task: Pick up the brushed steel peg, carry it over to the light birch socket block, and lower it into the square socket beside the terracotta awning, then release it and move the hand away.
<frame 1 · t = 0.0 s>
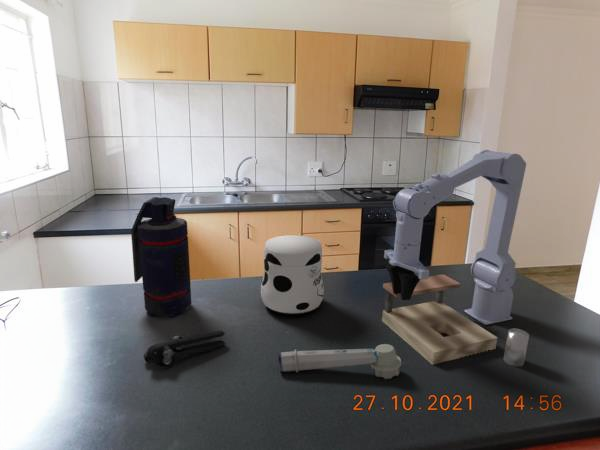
hand: (401, 296, 97), 10 cm above the countertop, tool pointing down, fingers open, 3 cm apart
toothbrush head: (338, 372, 86), on the countertop
can opener: (188, 357, 90), on the countertop
steel peg: (513, 361, 90), on the countertop
milk container: (292, 305, 114), on the countertop
grenade: (165, 309, 110), on the countertop
socket block: (435, 334, 101), on the countertop
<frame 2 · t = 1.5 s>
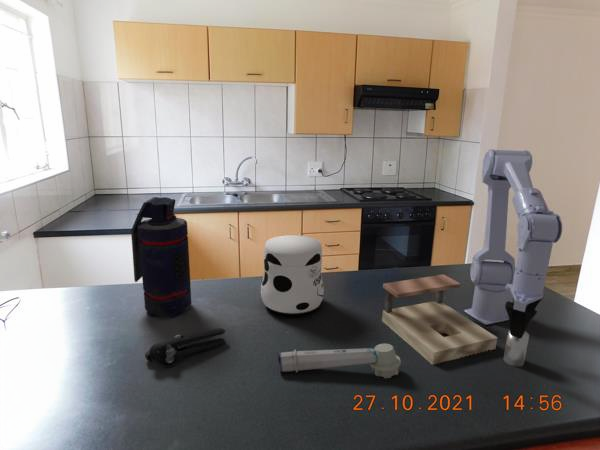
hand: (519, 329, 88), 8 cm above the countertop, tool pointing down, fingers open, 7 cm apart
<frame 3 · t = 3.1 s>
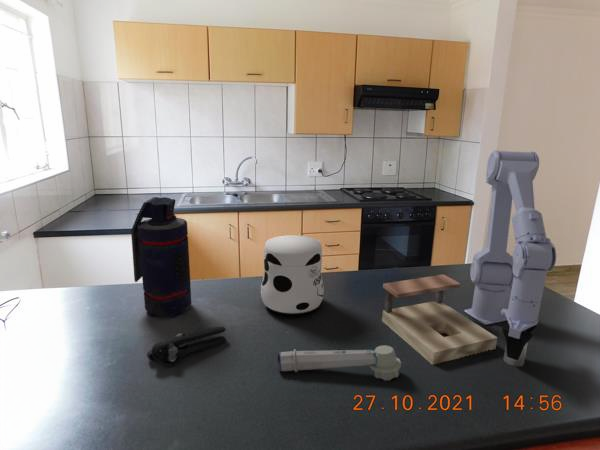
hand: (514, 353, 90), 2 cm above the countertop, tool pointing down, fingers closed on steel peg, 4 cm apart
steel peg: (513, 361, 90), on the countertop, touching gripper
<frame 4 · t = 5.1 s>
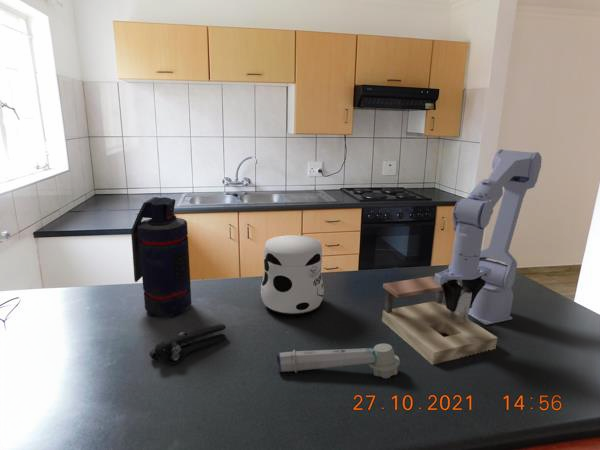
hand: (458, 308, 94), 9 cm above the countertop, tool pointing down, fingers closed on steel peg, 4 cm apart
steel peg: (458, 317, 95), point 7 cm above the countertop, touching gripper
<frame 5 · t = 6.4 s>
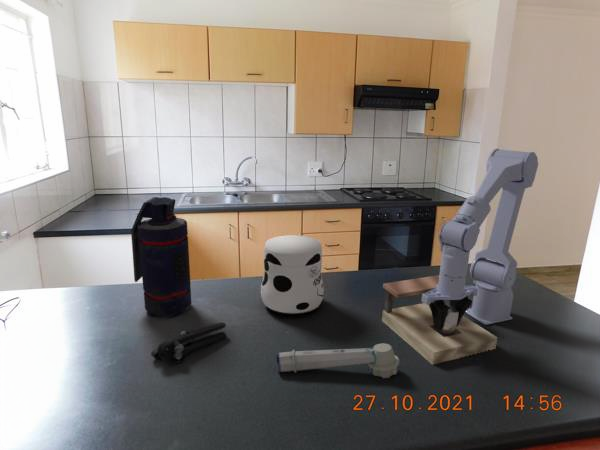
hand: (445, 326, 97), 4 cm above the countertop, tool pointing down, fingers closed on steel peg, 4 cm apart
steel peg: (445, 335, 97), point 1 cm above the countertop, touching gripper
when the fingers open (4 cm above the countertop, at t = 7.2 s): steel peg drops 1 cm, resting in socket block.
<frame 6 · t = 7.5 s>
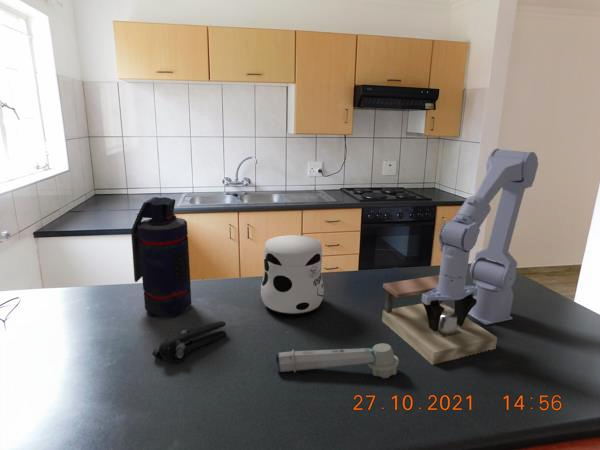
hand: (445, 326, 97), 4 cm above the countertop, tool pointing down, fingers open, 7 cm apart
steel peg: (444, 341, 98), resting in socket block
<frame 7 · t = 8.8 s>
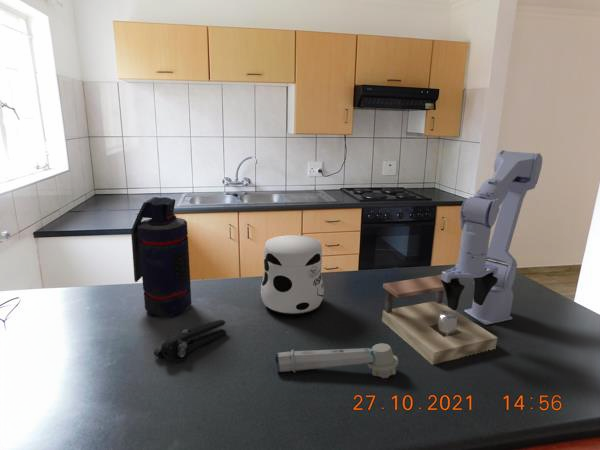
hand: (465, 305, 95), 9 cm above the countertop, tool pointing down, fingers open, 7 cm apart
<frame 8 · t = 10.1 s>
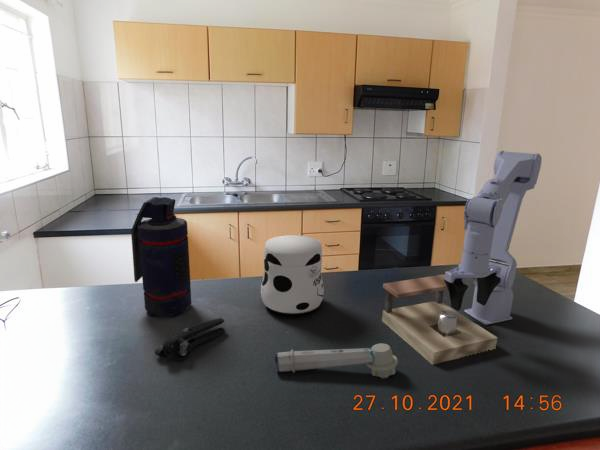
hand: (468, 306, 95), 9 cm above the countertop, tool pointing down, fingers open, 7 cm apart
at the end: steel peg 0.4 cm from the target spot on the socket block, point 0.0 cm above the socket block's base; steel peg tilted 0°; the gripper is holding nothing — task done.
